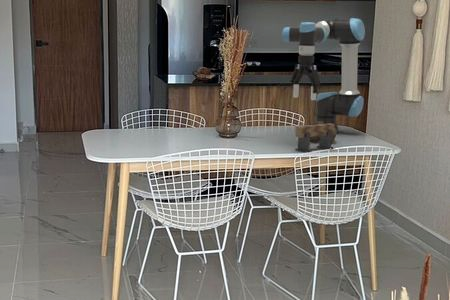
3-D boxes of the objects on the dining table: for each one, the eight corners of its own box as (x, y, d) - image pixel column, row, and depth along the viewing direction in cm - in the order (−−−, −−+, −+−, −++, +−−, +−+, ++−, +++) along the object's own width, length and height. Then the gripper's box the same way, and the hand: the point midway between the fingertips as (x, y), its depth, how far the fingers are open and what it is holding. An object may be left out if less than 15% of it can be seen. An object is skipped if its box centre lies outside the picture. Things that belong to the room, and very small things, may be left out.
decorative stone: (322, 134, 301) (305, 120, 311) (317, 152, 307) (300, 137, 317) (346, 130, 309) (328, 116, 319) (340, 148, 315) (323, 134, 325)
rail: (329, 133, 297) (329, 123, 296) (334, 134, 294) (334, 124, 293) (295, 136, 285) (295, 126, 284) (300, 137, 282) (300, 127, 281)
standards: (323, 146, 299) (324, 129, 297) (333, 149, 293) (334, 131, 291) (295, 150, 289) (296, 132, 287) (304, 152, 283) (305, 134, 281)
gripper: (284, 54, 295) (282, 96, 299) (317, 55, 274) (314, 101, 278) (296, 54, 299) (294, 96, 303) (329, 55, 278) (327, 100, 282)
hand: (304, 98), depth 291 cm, fingers open, 13 cm apart
